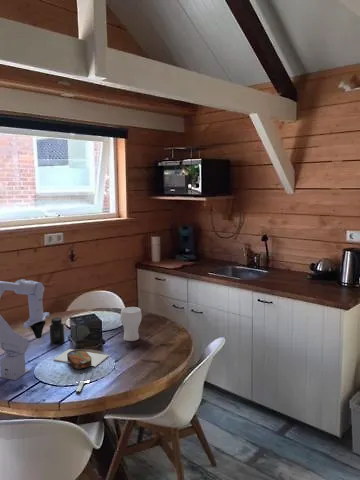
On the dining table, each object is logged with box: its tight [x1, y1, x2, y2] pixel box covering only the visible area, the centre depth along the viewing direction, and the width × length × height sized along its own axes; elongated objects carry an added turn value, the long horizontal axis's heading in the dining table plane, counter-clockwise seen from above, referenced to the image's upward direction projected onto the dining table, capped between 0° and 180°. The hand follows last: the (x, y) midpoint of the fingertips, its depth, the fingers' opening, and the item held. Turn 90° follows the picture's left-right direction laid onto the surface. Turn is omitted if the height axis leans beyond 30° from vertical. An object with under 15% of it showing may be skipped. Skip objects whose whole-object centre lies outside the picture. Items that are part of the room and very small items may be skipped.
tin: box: [67, 349, 92, 370], centre depth 184 cm, size 15×3×8 cm
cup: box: [119, 306, 143, 342], centre depth 212 cm, size 11×11×15 cm
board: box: [53, 348, 110, 368], centre depth 189 cm, size 12×21×1 cm, turn 71°
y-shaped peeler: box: [75, 380, 91, 395], centre depth 166 cm, size 17×5×1 cm, turn 1°
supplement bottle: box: [49, 316, 66, 345], centre depth 206 cm, size 7×7×12 cm
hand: (38, 337), depth 185 cm, fingers closed
